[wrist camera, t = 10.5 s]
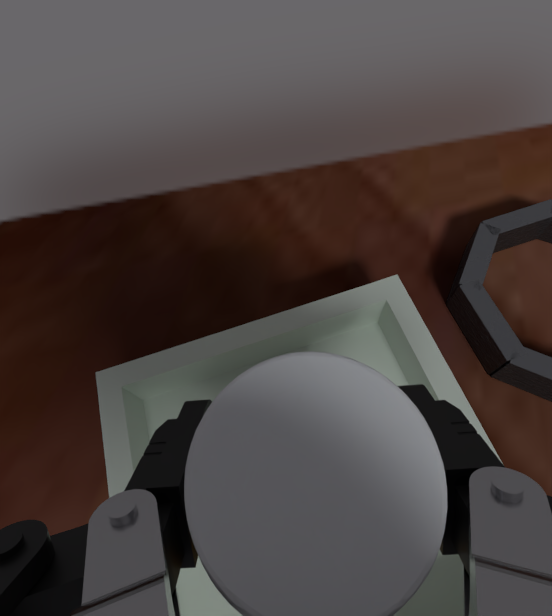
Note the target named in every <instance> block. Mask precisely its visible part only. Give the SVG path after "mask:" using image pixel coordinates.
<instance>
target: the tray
mask: <svg viewBox="0 0 552 616" xmlns="http://www.w3.org/2000/svg"><path fill="white" fill-rule="evenodd" d="M309 351H314V352H326V353H332V354H337V355H341V356H346V357H349V358H351V359H354V360H356V361H359V362H361V363H363V364H365V365H367V366H369V367H372V368H373V369H375V370H376V371H378V372H379V373H381V374H382V375H384V376H385V377H387V378H388V379H389V380H391V381H392V382H393V383H394V384H395V385H396V386H403V385H416V384H423V385H424V386H425V387H426V388H427V390H428V391H429V393H430V394H431V395H432V397H433V398H434V400H435V401H436V400H446V401H447V402H449V403H451V404H452V405H454V406H455V407H457V408H459V409H460V410H461V411H462V413H463V414H464V415H465V416H466V418H467V419H468V420H469V423H470V424H472V425H473V427H474V428H475V429H476V431H477V434H480V436H481V437H482V438H483V440H484V441H485V442H486V443H487V445H488V446H489V447H490V449H491V450H492V451H493V452H494V454H495V455H496V456H497V458H498V459H499V460H500V458H499V456H498V454H497V453H496V451H495V449H494V447H493V445H492V444H491V442H490V440H489V438H488V437H487V435H486V433H485V431H484V429H483V428H482V426H481V424H480V422H479V420H478V419H477V417H476V415H475V413H474V411H473V410H472V408H471V406H470V404H469V402H468V401H467V399H466V397H465V395H464V393H463V392H462V390H461V388H460V386H459V385H458V383H457V381H456V379H455V377H454V376H453V374H452V372H451V370H450V368H449V367H448V365H447V363H446V361H445V359H444V358H443V356H442V354H441V352H440V350H439V349H438V347H437V345H436V343H435V341H434V340H433V338H432V336H431V334H430V333H429V331H428V329H427V327H426V325H425V324H424V322H423V320H422V318H421V316H420V315H419V313H418V311H417V309H416V307H415V306H414V304H413V302H412V300H411V298H410V297H409V295H408V293H407V291H406V289H405V288H404V286H403V284H402V282H401V281H400V279H399V277H398V275H394V276H391V277H388V278H385V279H382V280H379V281H376V282H373V283H370V284H367V285H364V286H361V287H357V288H354V289H351V290H348V291H345V292H342V293H339V294H336V295H333V296H330V297H327V298H324V299H320V300H317V301H314V302H311V303H308V304H305V305H302V306H299V307H296V308H293V309H290V310H287V311H283V312H280V313H277V314H274V315H271V316H268V317H265V318H262V319H259V320H256V321H253V322H250V323H246V324H243V325H240V326H237V327H234V328H231V329H228V330H225V331H222V332H219V333H216V334H213V335H209V336H206V337H203V338H200V339H197V340H194V341H191V342H188V343H185V344H182V345H179V346H176V347H172V348H169V349H166V350H163V351H160V352H157V353H154V354H151V355H148V356H145V357H142V358H139V359H135V360H132V361H129V362H126V363H123V364H120V365H117V366H114V367H111V368H108V369H105V370H102V371H98V372H95V373H96V382H97V391H98V400H99V409H100V418H101V427H102V436H103V445H104V454H105V463H106V472H107V481H108V490H109V498H110V497H112V496H114V495H116V494H118V493H121V492H124V490H125V488H126V486H127V484H128V482H129V481H130V479H131V477H132V475H133V473H134V471H135V469H136V467H137V465H138V463H139V461H140V459H141V457H142V456H144V452H145V450H146V448H147V446H148V445H149V442H150V440H151V438H152V436H153V434H154V432H155V430H156V429H158V428H159V427H160V426H161V425H162V424H163V423H164V422H165V421H167V420H168V419H177V418H178V415H179V413H180V411H181V409H182V407H183V404H184V402H185V401H195V400H208V399H210V400H211V401H212V402H213V400H214V399H215V398H216V397H217V395H218V394H219V393H220V392H221V391H222V390H223V389H224V388H225V387H226V386H227V385H228V384H229V383H230V382H232V381H233V380H234V379H235V378H236V377H237V376H239V375H240V374H242V373H243V372H245V371H246V370H248V369H249V368H251V367H253V366H255V365H257V364H259V363H261V362H263V361H265V360H268V359H271V358H274V357H277V356H280V355H284V354H288V353H295V352H309ZM500 461H501V460H500ZM501 463H502V462H501ZM502 464H503V463H502ZM463 566H464V565H463V563H462V561H461V559H460V557H459V554H455V555H442V553H441V551H440V549H439V552H438V555H437V557H436V560H435V562H434V564H433V566H432V568H431V570H430V572H429V574H428V576H427V577H426V579H425V580H424V582H423V584H422V585H421V586H420V588H419V589H418V590H417V592H416V593H415V594H414V595H413V597H412V598H411V599H410V600H409V601H408V602H407V603H406V604H405V605H404V606H403V607H402V608H401V609H400V610H399V611H398V612H397V613H396V614H395V615H394V616H463ZM176 588H177V592H178V597H179V604H180V610H181V616H243V615H242V614H240V613H239V612H238V611H237V610H236V609H235V608H233V607H232V606H231V605H230V604H229V603H228V602H227V600H226V599H225V598H224V597H223V596H222V595H221V593H220V592H219V591H218V590H217V588H216V587H215V586H214V584H213V583H212V581H211V580H210V578H209V576H208V574H207V572H206V571H205V569H204V567H203V565H202V563H201V560H200V558H199V556H198V559H197V563H196V568H181V569H180V573H179V577H178V580H177V584H176Z"/></svg>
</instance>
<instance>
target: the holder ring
mask: <svg viewBox="0 0 552 616" xmlns="http://www.w3.org/2000/svg"><path fill="white" fill-rule="evenodd" d="M534 239H540V240H543V241H546V242H549V243H552V200H551V199H550V200H547V201H544V202H541V203H538V204H535V205H531V206H528V207H525V208H522V209H519V210H516V211H513V212H510V213H506V214H503V215H500V216H497V217H494V218H491V219H488V220H484V221H482V222H481V223H480V224H479V226H478V228H477V229H476V231H475V233H474V234H473V236H472V237H471V239H470V241H469V242H468V244H467V246H466V249H465V251H464V254H463V257H462V260H461V262H460V265H459V268H458V271H457V273H456V276H455V279H454V282H453V284H452V287H451V290H450V293H449V295H448V298H447V301H446V303H447V304H446V305H447V307H448V309H449V310H450V312H451V314H452V315H453V317H454V319H455V320H456V322H457V324H458V325H459V327H460V329H461V330H462V332H463V333H464V335H465V337H466V338H467V340H468V342H469V343H470V345H471V347H472V348H473V350H474V352H475V353H476V355H477V357H478V358H479V360H480V362H481V363H482V365H483V367H484V368H485V370H486V372H487V373H488V375H489V374H491V377H493V378H495V379H498V380H500V381H502V382H505V383H507V384H510V385H512V386H515V387H517V388H520V389H522V390H524V391H527V392H529V393H532V394H534V395H537V396H539V397H542V398H544V399H546V400H549V401H551V402H552V357H549V356H547V355H544V354H541V353H539V352H536V351H533V350H531V349H528V348H526V347H523V345H522V344H521V342H520V341H519V339H518V338H517V336H516V335H515V333H514V332H513V330H512V329H511V327H510V326H509V324H508V323H507V321H506V320H505V318H504V317H503V315H502V314H501V313H500V311H499V310H498V308H497V307H496V305H495V304H494V302H493V301H492V299H491V298H490V296H489V295H488V293H487V292H486V290H485V289H484V287H483V286H482V284H483V281H484V278H485V275H486V272H487V269H488V266H489V263H490V260H491V257H492V254H493V253H494V252H498V251H501V250H504V249H507V248H510V247H513V246H516V245H519V244H522V243H525V242H528V241H531V240H534Z"/></svg>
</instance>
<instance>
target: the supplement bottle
mask: <svg viewBox="0 0 552 616" xmlns="http://www.w3.org/2000/svg"><path fill="white" fill-rule="evenodd" d="M184 501H185V510H186V517H187V522H188V527H189V531H190V534H191V537H192V541H193V544H194V546H195V549H196V551H197V553H198V556H199V558H200V560H201V563H202V565H203V567H204V569H205V571H206V572H207V574H208V576H209V578H210V580H211V581H212V583H213V584H214V586H215V587H216V588H217V590H218V591H219V592H220V593H221V595H222V596H223V597H224V598H225V599H226V600H227V602H228V603H229V604H230V605H231V606H232V607H233V608H235V609H236V610H237V611H238V612H239V613H240V614H242V615H243V616H394V615H395V614H396V613H397V612H398V611H399V610H400V609H401V608H402V607H403V606H404V605H405V604H406V603H407V602H408V601H409V600H410V599H411V598H412V597H413V595H414V594H415V593H416V592H417V590H418V589H419V588H420V586H421V585H422V584H423V582H424V580H425V579H426V577H427V576H428V574H429V572H430V570H431V568H432V566H433V564H434V562H435V560H436V557H437V555H438V552H439V549H440V546H441V542H442V539H443V535H444V531H445V524H446V517H447V483H446V476H445V470H444V464H443V461H442V458H441V455H440V452H439V449H438V446H437V443H436V441H435V439H434V436H433V434H432V432H431V430H430V428H429V426H428V424H427V422H426V420H425V418H424V417H423V415H422V414H421V413H420V411H419V410H418V408H417V407H416V405H415V404H414V403H413V402H412V401H411V400H410V398H409V397H408V396H407V395H406V394H405V393H404V392H403V391H402V390H401V389H400V388H399V387H398V386H396V385H395V384H394V383H393V382H392V381H391V380H389V379H388V378H387V377H385V376H384V375H382V374H381V373H379V372H378V371H376V370H375V369H373V368H372V367H369V366H367V365H365V364H363V363H361V362H359V361H356V360H354V359H351V358H349V357H346V356H341V355H337V354H332V353H326V352H314V351H309V352H295V353H288V354H284V355H280V356H277V357H274V358H271V359H268V360H265V361H263V362H261V363H259V364H257V365H255V366H253V367H251V368H249V369H248V370H246V371H245V372H243V373H242V374H240V375H239V376H237V377H236V378H235V379H234V380H233V381H232V382H230V383H229V384H228V385H227V386H226V387H225V388H224V389H223V390H222V391H221V392H220V393H219V394H218V395H217V397H216V398H215V399H214V400H213V402H212V403H211V404H210V406H209V407H208V409H207V410H206V412H205V414H204V416H203V418H202V419H201V421H200V423H199V425H198V427H197V429H196V431H195V434H194V437H193V439H192V442H191V445H190V449H189V453H188V457H187V462H186V467H185V479H184Z"/></svg>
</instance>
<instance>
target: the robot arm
mask: <svg viewBox="0 0 552 616" xmlns="http://www.w3.org/2000/svg"><path fill="white" fill-rule="evenodd" d="M398 387H399V388H400V389H401V390H402V391H403V392H404V393H405V394H406V395H407V396H408V397H409V398H410V400H411V401H412V402H413V403H414V404H415V405H416V407H417V408H418V410H419V411H420V413H421V414H422V415H423V417H424V418H425V420H426V422H427V424H428V426H429V428H430V430H431V432H432V434H433V436H434V439H435V441H436V443H437V446H438V449H439V452H440V455H441V458H442V461H443V464H444V470H445V476H446V483H447V517H446V524H445V531H444V535H443V539H442V542H441V546H440V551H441V553H442V555H455V554H459V557H460V559H461V561H462V563H463V565H464V566H463V616H552V497H550V496H547V495H546V493H545V492H544V490H543V489H542V488H541V487H540V485H539V484H537V483H536V482H535V481H534V480H532V479H531V478H529V477H528V476H526V475H524V474H522V473H520V472H518V471H515V470H512V469H508V468H505V467H504V465H503V464H502V463H501V461H500V460H499V459H498V458H497V456H496V455H495V454H494V452H493V451H492V450H491V449H490V447H489V446H488V445H487V443H486V442H485V441H484V440H483V438H482V437H481V436H480V434H477V431H476V429H475V428H474V427H473V425H472V424H470V423H469V420H468V419H467V418H466V416H465V415H464V414H463V413H462V411H461V410H460V409H459V408H457V407H455V406H454V405H452V404H451V403H449V402H447V401H446V400H436V401H435V400H434V398H433V397H432V395H431V394H430V393H429V391H428V390H427V388H426V387H425V386H424V385H423V384H416V385H403V386H398ZM211 403H212V401H211V400H210V399H208V400H195V401H185V402H184V404H183V407H182V409H181V411H180V413H179V415H178V418H177V419H168V420H167V421H165V422H164V423H163V424H162V425H161V426H160V427H159V428H158V429H156V430H155V432H154V434H153V436H152V438H151V440H150V442H149V445H148V446H147V448H146V450H145V452H144V456H142V457H141V459H140V461H139V463H138V465H137V467H136V469H135V471H134V473H133V475H132V477H131V479H130V481H129V482H128V484H127V486H126V488H125V490H124V492H121V493H118V494H116V495H114V496H112V497H110V498H109V499H107V500H106V501H105V502H103V503H102V504H101V505H100V506H99V507H98V508H97V509H96V510H95V511H94V513H93V514H92V516H91V518H90V520H89V523H88V524H86V525H83V526H81V527H77V528H74V529H71V530H68V531H65V532H62V533H58V534H55V535H52V536H50V535H49V532H48V530H47V527H46V525H45V524H44V523H43V522H41V521H38V520H25V521H20V522H17V523H14V524H11V525H9V526H7V527H5V528H3V529H1V530H0V616H181V610H180V604H179V597H178V592H177V588H176V584H177V580H178V577H179V573H180V569H181V568H196V563H197V559H198V553H197V551H196V549H195V546H194V544H193V541H192V537H191V534H190V531H189V527H188V522H187V517H186V510H185V501H184V479H185V467H186V462H187V457H188V453H189V449H190V445H191V442H192V439H193V437H194V434H195V431H196V429H197V427H198V425H199V423H200V421H201V419H202V418H203V416H204V414H205V412H206V410H207V409H208V407H209V406H210V404H211Z"/></svg>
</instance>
